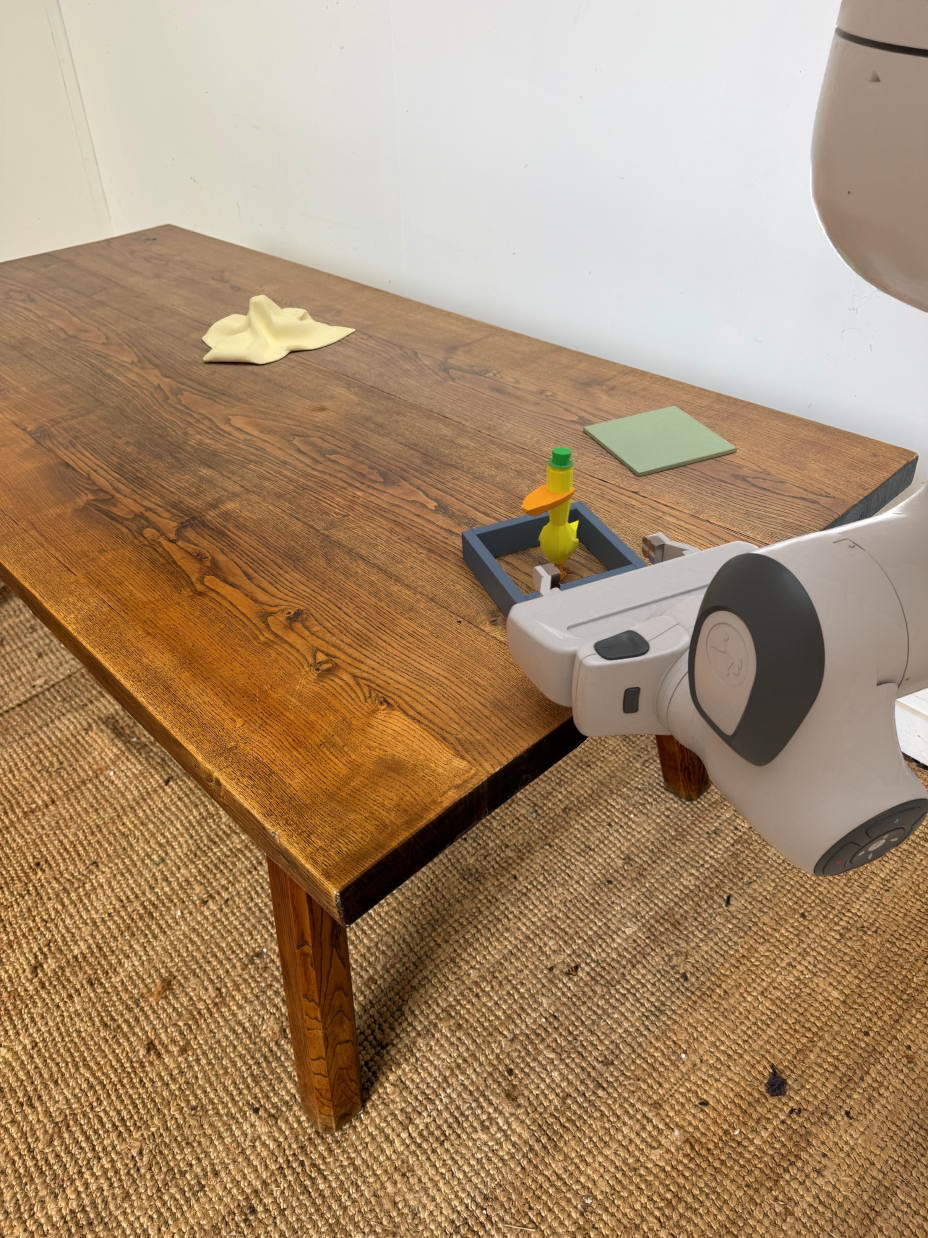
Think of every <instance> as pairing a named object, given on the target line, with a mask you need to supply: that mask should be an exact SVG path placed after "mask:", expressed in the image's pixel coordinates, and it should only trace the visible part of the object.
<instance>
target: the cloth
mask: <svg viewBox="0 0 928 1238" xmlns="http://www.w3.org/2000/svg"><path fill="white" fill-rule="evenodd" d="M354 332H356V328H352V327H345V326H339V325H329V324H327V323H324V322H321V321H320V322H319V321H316V320H315V319H313V318H312V317H311V315H310V314H309V312H308V311H307V309H303V308H299V307H285V308H281V307H280V306H279V305H278V304H276V302H275V301H273V300H272V299H271V298H270V297H268V296H267V295H266V294H259V295H255V296H252V297H251V298H249V305H248V311H247V314H246V315H244V314H240V313H239V314H238V313H233V314H230V315H228V316H226V317H223V318H221V319H219V320H217V321H216V322H214V323H213V324H212V325H211V326H210V327H209V328H208V330H207V331H206V333H205V334H204V335H203V336H202V337H201V339H202V341H203V342H204V343H205V344H206V346H207V347H209V348H211V349H210V350H209V351H208V352H207V353H206V355H204V356H203V357H202V359H203V361H205V362H206V363H208V362H227V363H229V362H230V363H252V364H257V365H263V364H264V365H266V364H269V363H273V362H276V361H279V360H281V359H283V358H285V357H286V356H287V355H288V354H289V353H290V352H296V351H308V350H311V351H312V350H317V349H321V348H324V347H327V346H330V345H332V344H334V343H336V342H339V341H340V340H342V339H344V338H346V337H347V336H350V335H351V334H353V333H354Z"/></svg>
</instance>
